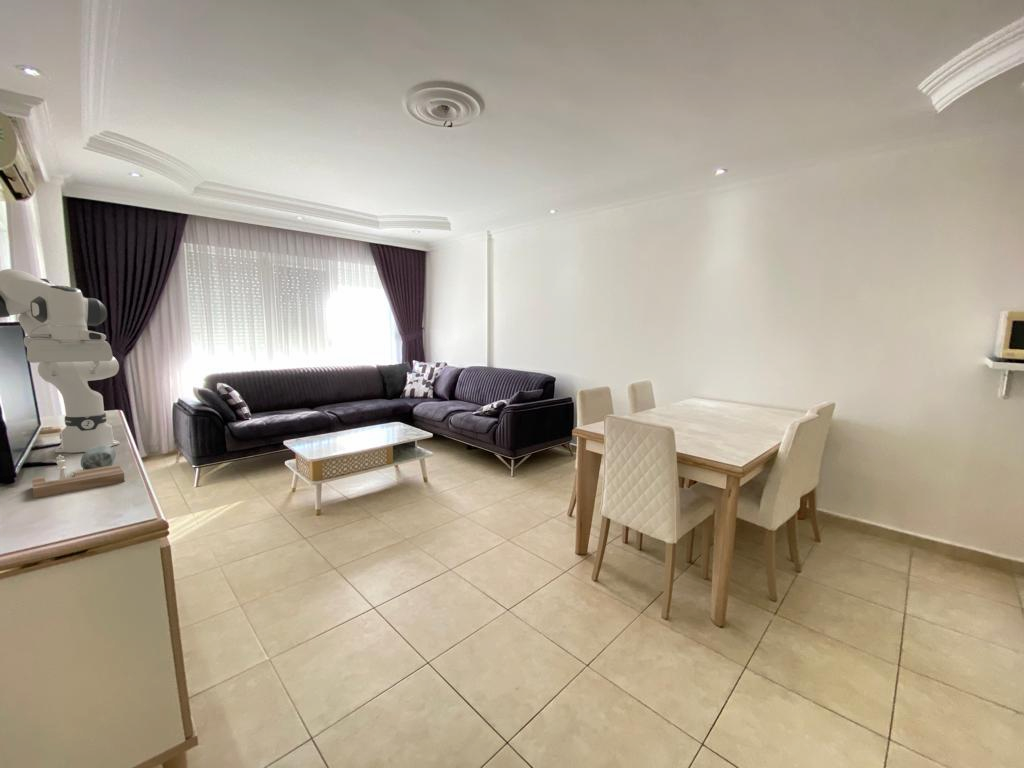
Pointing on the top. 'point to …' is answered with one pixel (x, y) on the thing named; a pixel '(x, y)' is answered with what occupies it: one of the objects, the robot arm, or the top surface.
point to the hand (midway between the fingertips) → (73, 374)
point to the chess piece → (61, 467)
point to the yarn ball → (98, 457)
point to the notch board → (78, 481)
